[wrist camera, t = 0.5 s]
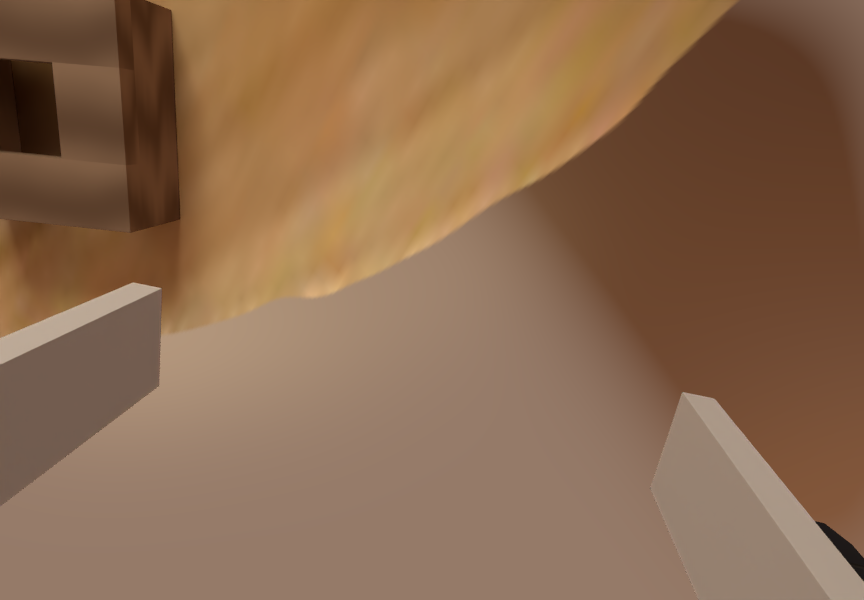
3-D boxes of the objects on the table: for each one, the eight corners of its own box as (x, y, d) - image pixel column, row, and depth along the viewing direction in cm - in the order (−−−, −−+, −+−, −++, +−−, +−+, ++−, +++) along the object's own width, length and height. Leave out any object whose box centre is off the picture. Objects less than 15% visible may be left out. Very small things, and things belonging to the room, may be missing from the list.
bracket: (-25, -5, 39) (-114, -28, 33) (170, 10, 38) (113, -12, 32) (2, 200, 43) (-73, 210, 37) (180, 219, 42) (130, 232, 36)
